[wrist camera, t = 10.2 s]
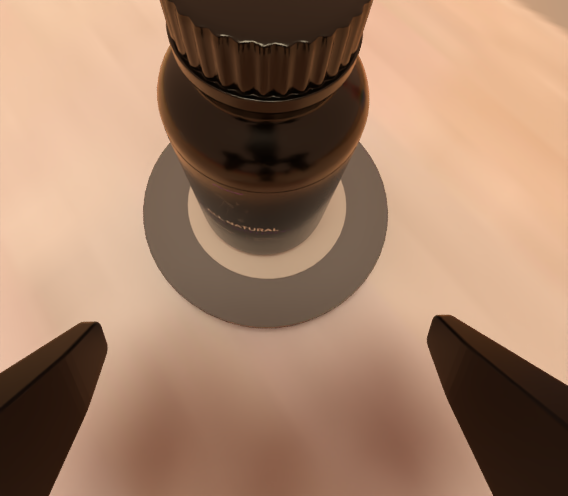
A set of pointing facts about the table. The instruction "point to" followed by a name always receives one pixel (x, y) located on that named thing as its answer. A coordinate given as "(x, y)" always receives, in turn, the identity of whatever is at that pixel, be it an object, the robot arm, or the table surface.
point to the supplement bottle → (264, 110)
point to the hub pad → (266, 268)
